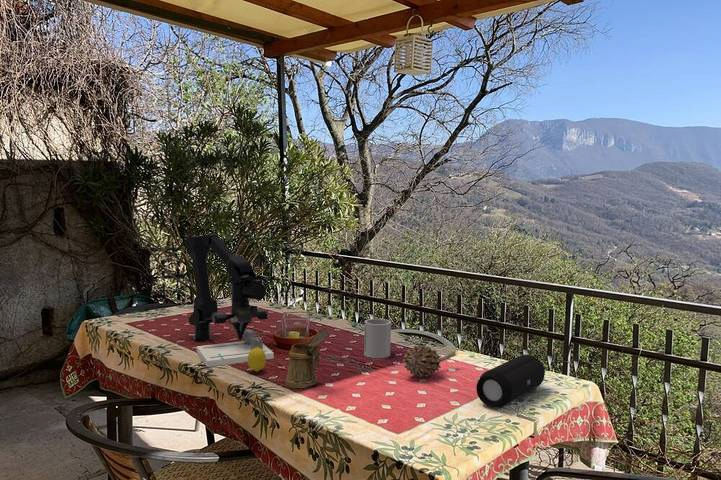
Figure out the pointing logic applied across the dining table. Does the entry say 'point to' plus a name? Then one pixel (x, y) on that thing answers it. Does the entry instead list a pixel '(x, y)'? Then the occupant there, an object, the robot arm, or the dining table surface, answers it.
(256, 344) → the fader
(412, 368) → the pine cone
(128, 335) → the dining table surface
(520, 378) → the portable speaker
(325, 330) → the wooden mug
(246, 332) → the fader
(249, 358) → the lemon
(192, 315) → the robot arm
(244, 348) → the slotted white panel
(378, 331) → the cup
